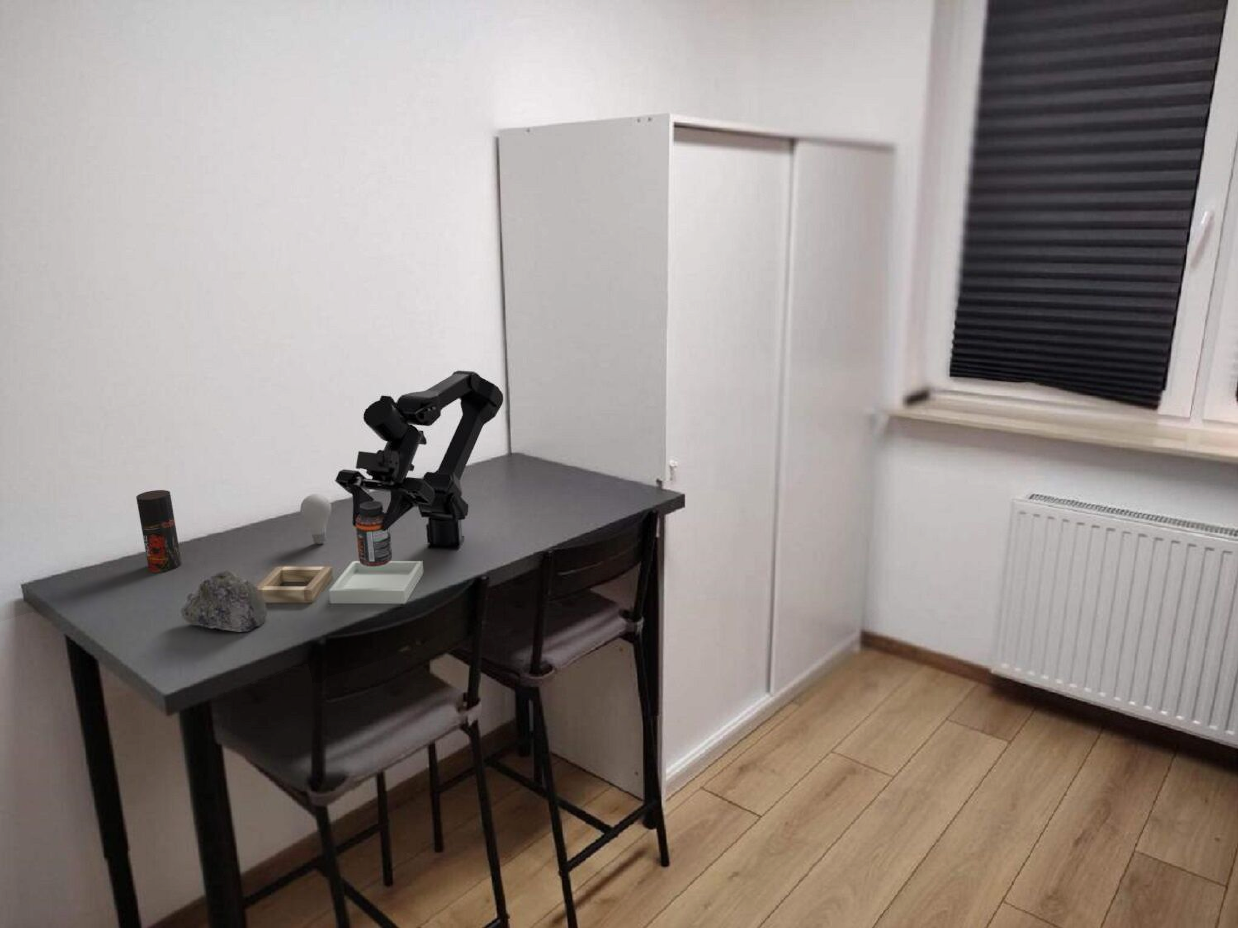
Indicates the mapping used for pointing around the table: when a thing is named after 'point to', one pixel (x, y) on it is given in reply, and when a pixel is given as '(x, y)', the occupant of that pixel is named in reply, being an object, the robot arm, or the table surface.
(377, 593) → the tray
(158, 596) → the table surface
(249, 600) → the mineral rock
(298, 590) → the collar socket
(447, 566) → the table surface
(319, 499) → the lightbulb
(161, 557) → the deodorant
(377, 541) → the supplement bottle
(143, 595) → the table surface
